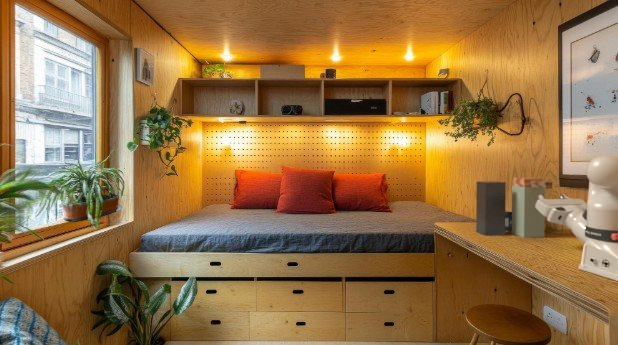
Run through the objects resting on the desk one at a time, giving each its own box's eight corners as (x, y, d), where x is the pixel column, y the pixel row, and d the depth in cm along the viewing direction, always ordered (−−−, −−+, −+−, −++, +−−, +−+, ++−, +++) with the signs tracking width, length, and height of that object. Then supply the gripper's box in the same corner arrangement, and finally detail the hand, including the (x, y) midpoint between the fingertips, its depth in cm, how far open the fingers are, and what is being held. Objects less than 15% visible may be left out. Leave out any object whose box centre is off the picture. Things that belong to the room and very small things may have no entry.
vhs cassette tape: (481, 228, 191) (481, 209, 191) (483, 227, 193) (483, 209, 193) (520, 232, 178) (520, 213, 178) (521, 232, 181) (521, 212, 180)
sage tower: (544, 237, 168) (545, 186, 167) (523, 237, 167) (524, 187, 167) (530, 232, 177) (531, 185, 176) (511, 233, 177) (512, 185, 176)
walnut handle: (558, 188, 158) (558, 179, 158) (539, 188, 157) (539, 179, 157) (531, 185, 176) (531, 177, 176) (513, 185, 175) (513, 177, 175)
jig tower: (505, 235, 173) (505, 182, 172) (485, 235, 173) (485, 182, 172) (495, 231, 182) (495, 181, 181) (476, 231, 181) (476, 181, 180)
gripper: (599, 209, 143) (576, 189, 155) (551, 209, 142) (531, 190, 154) (592, 221, 147) (570, 201, 158) (545, 222, 146) (526, 201, 157)
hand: (550, 195), depth 156 cm, fingers open, 8 cm apart
